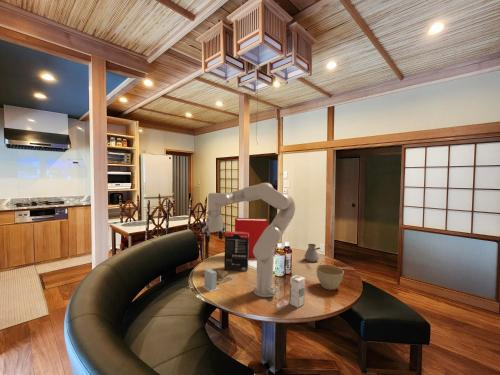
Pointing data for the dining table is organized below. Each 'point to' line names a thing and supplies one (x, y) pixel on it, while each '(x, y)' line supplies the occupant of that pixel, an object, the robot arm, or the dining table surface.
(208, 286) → the panel
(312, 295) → the dining table surface
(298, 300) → the syrup box
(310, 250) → the coffee pot
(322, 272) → the planter bowl
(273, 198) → the robot arm
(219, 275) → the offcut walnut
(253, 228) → the book
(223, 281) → the rack
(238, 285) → the dining table surface
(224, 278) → the offcut oak
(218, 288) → the mat
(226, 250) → the graphics card box
